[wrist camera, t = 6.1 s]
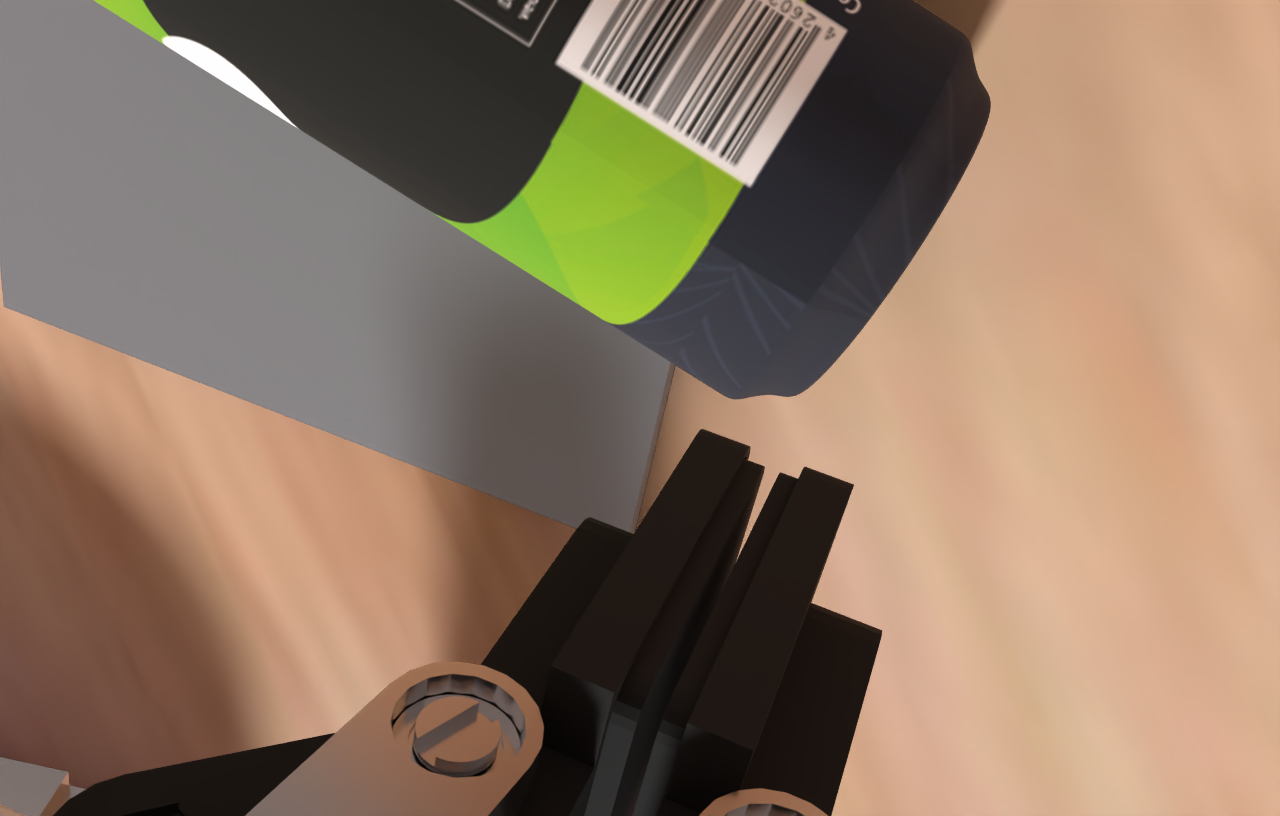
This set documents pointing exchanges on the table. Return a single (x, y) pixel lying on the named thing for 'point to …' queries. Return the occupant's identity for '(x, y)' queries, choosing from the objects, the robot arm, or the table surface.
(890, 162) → the beverage can
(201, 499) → the table surface
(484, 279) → the mat
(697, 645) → the robot arm
